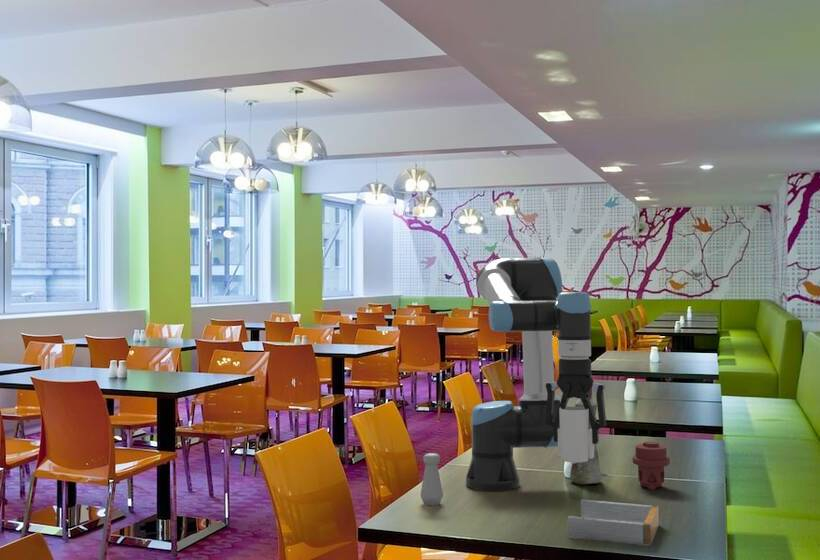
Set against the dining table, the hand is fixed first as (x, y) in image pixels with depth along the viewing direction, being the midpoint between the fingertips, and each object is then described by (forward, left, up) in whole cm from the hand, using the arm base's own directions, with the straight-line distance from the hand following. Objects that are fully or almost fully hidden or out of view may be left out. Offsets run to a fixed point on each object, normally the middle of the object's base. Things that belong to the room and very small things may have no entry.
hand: (576, 456), depth 201 cm
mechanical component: (+12, +47, -17) cm, 51 cm away
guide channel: (+9, 0, -17) cm, 19 cm away
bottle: (-6, +46, -17) cm, 49 cm away
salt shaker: (-39, +8, -17) cm, 44 cm away
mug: (0, 0, -1) cm, 1 cm away
